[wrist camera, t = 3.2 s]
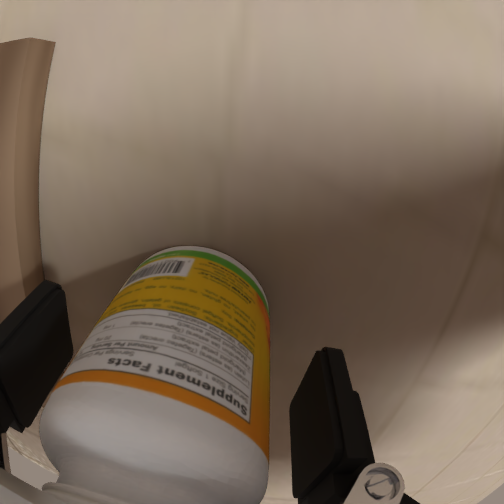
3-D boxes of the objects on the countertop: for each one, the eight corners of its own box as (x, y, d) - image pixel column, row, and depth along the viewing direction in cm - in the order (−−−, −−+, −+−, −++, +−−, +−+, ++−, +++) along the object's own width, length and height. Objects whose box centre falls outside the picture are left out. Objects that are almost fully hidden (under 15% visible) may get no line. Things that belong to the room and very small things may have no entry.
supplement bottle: (226, 377, 13) (196, 595, 4) (114, 320, 12) (7, 525, 3) (298, 289, 11) (330, 596, 2) (162, 212, 10) (-43, 489, 1)
